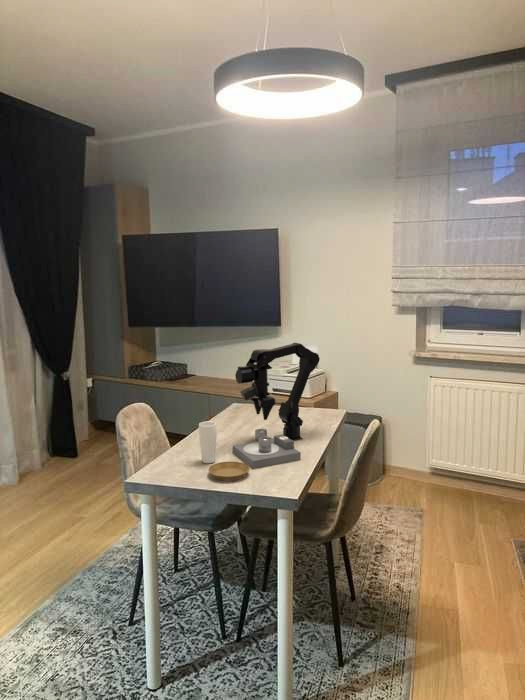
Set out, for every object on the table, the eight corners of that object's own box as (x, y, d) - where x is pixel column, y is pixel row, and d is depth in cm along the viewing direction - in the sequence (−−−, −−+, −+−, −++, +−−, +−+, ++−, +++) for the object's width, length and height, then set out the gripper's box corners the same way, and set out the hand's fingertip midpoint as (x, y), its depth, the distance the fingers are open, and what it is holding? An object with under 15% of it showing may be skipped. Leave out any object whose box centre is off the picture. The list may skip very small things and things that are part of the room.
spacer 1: (263, 439, 229) (263, 427, 228) (269, 442, 224) (268, 430, 224) (253, 440, 227) (253, 429, 226) (258, 444, 222) (258, 432, 221)
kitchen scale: (276, 444, 221) (276, 430, 220) (300, 459, 203) (300, 443, 202) (232, 452, 212) (232, 437, 212) (253, 468, 195) (253, 452, 194)
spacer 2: (273, 451, 202) (273, 439, 201) (262, 453, 200) (261, 441, 199) (267, 447, 207) (267, 435, 206) (256, 449, 205) (256, 437, 204)
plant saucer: (230, 464, 200) (230, 458, 199) (258, 474, 190) (258, 467, 189) (200, 476, 189) (199, 469, 189) (227, 487, 179) (227, 479, 179)
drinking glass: (214, 465, 199) (213, 426, 197) (197, 464, 200) (196, 425, 198) (219, 458, 206) (218, 421, 203) (203, 457, 207) (201, 420, 205)
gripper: (235, 377, 224) (236, 413, 226) (248, 386, 207) (250, 425, 209) (260, 375, 228) (261, 410, 230) (275, 384, 210) (276, 422, 213)
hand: (261, 416), depth 220 cm, fingers open, 9 cm apart
